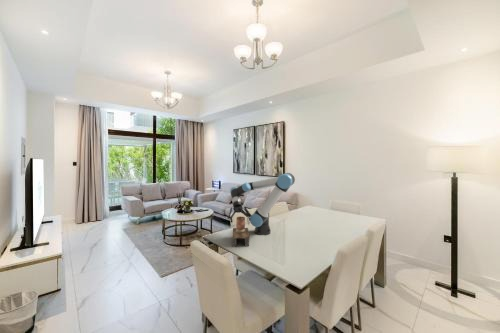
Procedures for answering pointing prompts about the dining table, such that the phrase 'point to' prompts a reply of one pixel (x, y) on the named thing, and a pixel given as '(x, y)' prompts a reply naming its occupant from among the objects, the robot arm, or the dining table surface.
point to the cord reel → (240, 224)
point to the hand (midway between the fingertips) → (241, 225)
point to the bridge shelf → (241, 236)
